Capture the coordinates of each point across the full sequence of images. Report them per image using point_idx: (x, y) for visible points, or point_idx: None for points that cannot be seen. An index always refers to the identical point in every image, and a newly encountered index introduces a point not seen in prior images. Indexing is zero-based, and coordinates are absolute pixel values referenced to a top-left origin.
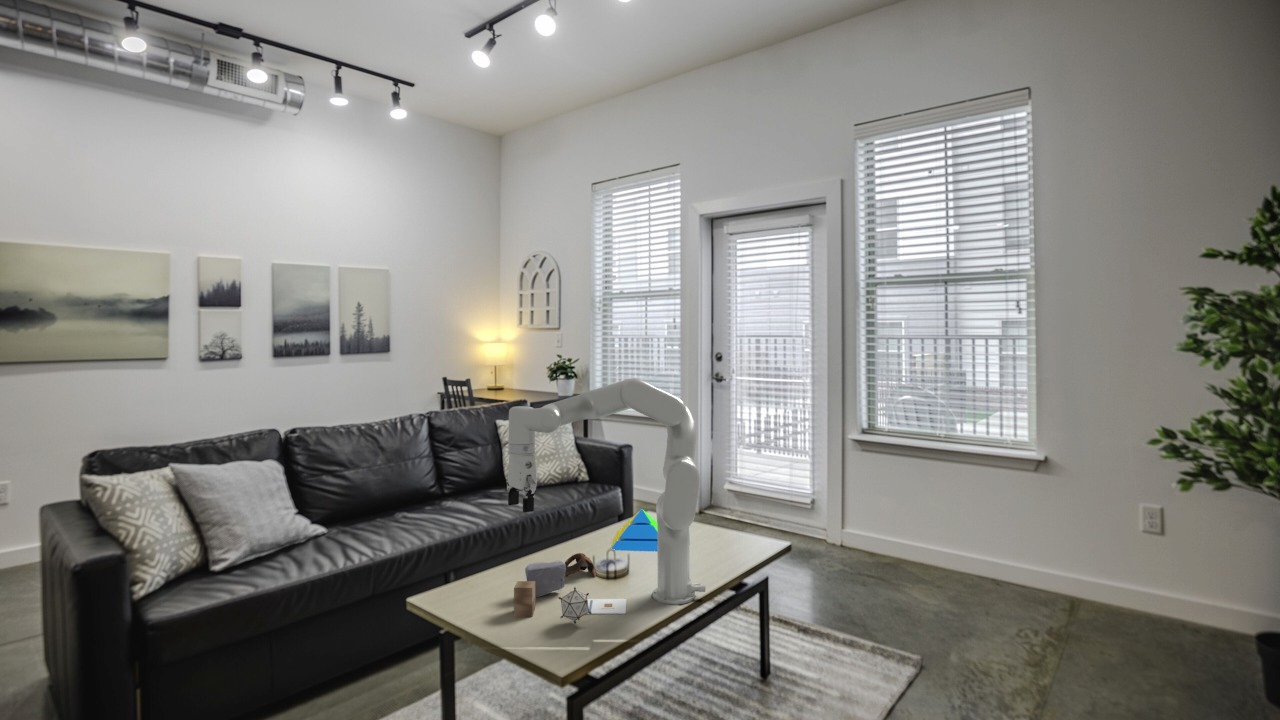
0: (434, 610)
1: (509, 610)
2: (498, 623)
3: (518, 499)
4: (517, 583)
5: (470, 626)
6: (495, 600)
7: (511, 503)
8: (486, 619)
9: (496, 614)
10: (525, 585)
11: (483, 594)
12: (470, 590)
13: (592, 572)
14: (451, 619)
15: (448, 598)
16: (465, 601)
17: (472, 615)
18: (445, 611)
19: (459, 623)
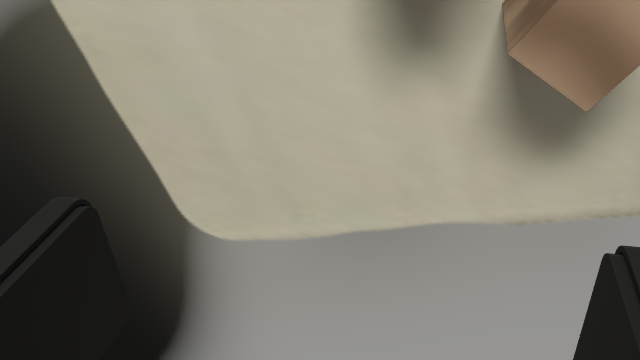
0: (312, 228)
1: (485, 37)
2: (573, 126)
3: (50, 253)
4: (540, 68)
5: (517, 204)
6: (342, 39)
7: (114, 305)
8: (502, 143)
9: (485, 96)
10: (606, 47)
11: (253, 52)
12: (188, 75)
13: None
14: (416, 221)
15: (232, 162)
16: (289, 131)
17: (431, 163)
18: (340, 209)
19: (466, 217)
